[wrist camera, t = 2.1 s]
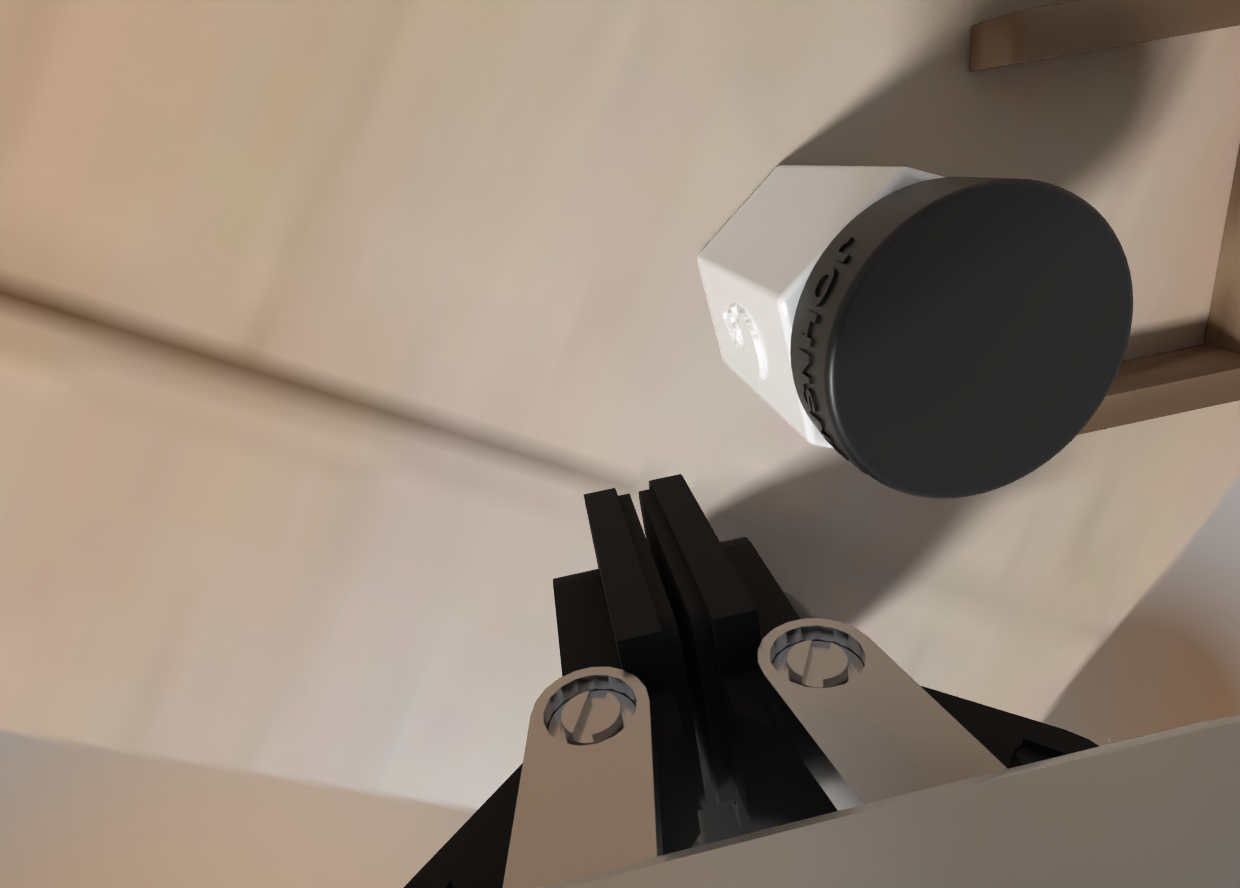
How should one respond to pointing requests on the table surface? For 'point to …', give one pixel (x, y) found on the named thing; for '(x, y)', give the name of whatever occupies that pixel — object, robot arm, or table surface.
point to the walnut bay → (1236, 332)
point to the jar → (922, 318)
